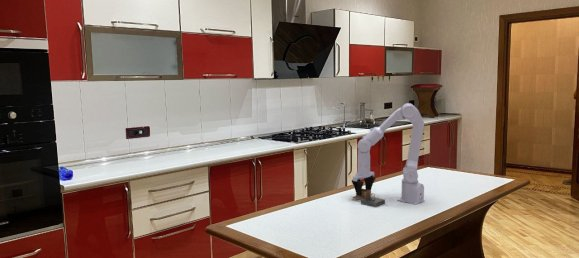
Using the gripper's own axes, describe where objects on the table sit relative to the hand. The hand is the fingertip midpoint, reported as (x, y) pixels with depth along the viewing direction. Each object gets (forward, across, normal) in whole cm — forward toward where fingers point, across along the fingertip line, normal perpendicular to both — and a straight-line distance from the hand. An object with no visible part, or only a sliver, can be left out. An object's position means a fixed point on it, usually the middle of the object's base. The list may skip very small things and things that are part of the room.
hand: (363, 193), depth 199 cm
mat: (+2, 0, 0) cm, 2 cm away
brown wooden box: (+1, 0, 0) cm, 1 cm away
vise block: (+2, +5, +8) cm, 10 cm away
